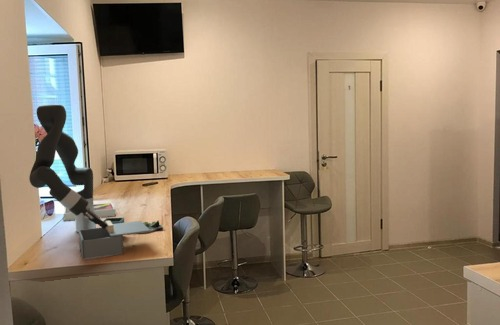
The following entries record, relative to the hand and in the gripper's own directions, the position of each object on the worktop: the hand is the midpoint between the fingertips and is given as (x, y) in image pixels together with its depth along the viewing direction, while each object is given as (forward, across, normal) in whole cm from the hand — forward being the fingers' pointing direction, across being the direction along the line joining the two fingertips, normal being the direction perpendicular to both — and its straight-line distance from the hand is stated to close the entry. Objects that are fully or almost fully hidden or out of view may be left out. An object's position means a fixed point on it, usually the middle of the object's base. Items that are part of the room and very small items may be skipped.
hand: (105, 227), depth 181 cm
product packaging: (+8, +82, +8) cm, 83 cm away
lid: (+8, 0, -5) cm, 9 cm away
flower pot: (+12, +20, +3) cm, 23 cm away
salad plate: (+24, +28, -9) cm, 38 cm away
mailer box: (+6, 0, +9) cm, 11 cm away
